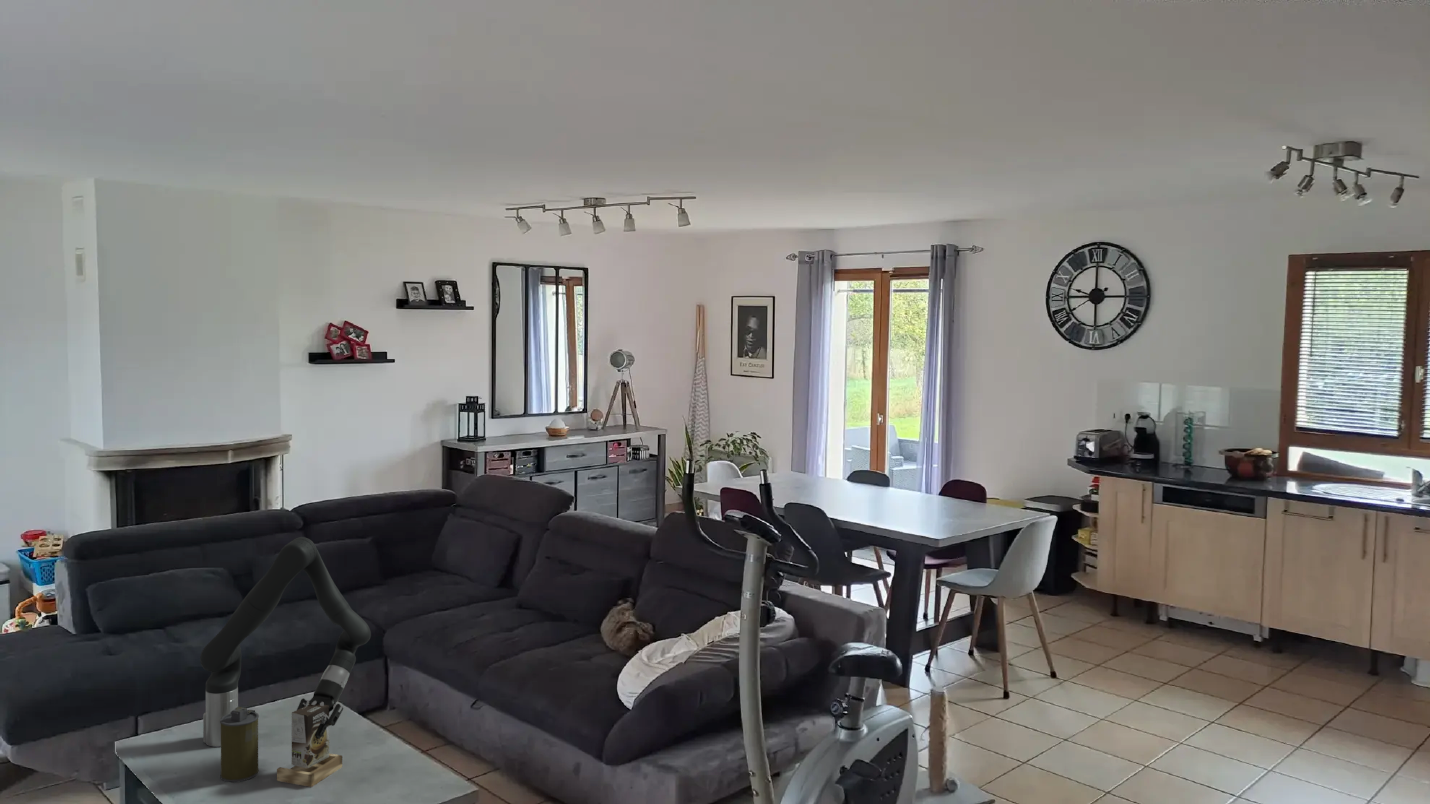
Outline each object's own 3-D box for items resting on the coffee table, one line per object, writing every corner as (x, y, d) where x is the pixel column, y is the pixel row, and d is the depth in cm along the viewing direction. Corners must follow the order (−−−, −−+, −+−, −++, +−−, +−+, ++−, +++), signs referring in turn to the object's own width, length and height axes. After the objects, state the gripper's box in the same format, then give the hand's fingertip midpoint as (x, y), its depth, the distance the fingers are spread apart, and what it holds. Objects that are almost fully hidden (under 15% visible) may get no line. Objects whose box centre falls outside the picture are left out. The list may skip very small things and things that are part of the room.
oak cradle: (277, 780, 293) (276, 768, 293) (308, 761, 306) (308, 749, 306) (311, 787, 290) (311, 775, 289) (342, 767, 303) (342, 755, 303)
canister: (243, 784, 290) (243, 717, 289) (212, 779, 292) (211, 713, 291) (267, 768, 301) (267, 703, 299) (237, 764, 303) (236, 700, 301)
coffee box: (307, 769, 293) (307, 715, 291) (290, 765, 295) (290, 712, 294) (330, 756, 301) (330, 705, 300) (313, 753, 303) (313, 701, 302)
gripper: (306, 675, 305) (280, 727, 295) (346, 681, 301) (321, 734, 291) (318, 686, 311) (292, 737, 300) (357, 692, 307) (333, 744, 296)
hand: (306, 735), depth 296 cm, fingers closed on coffee box, 6 cm apart
